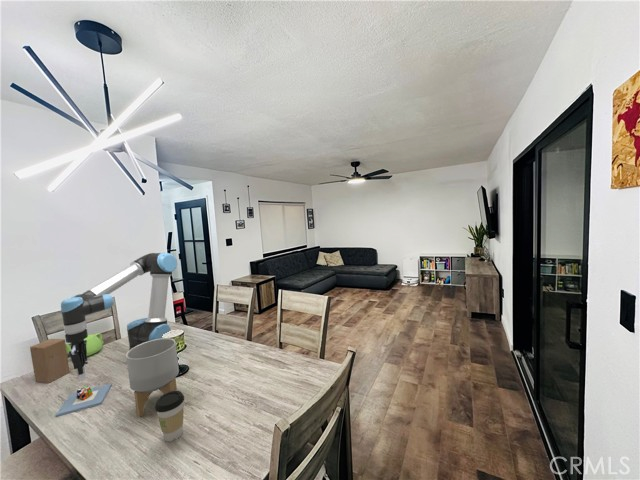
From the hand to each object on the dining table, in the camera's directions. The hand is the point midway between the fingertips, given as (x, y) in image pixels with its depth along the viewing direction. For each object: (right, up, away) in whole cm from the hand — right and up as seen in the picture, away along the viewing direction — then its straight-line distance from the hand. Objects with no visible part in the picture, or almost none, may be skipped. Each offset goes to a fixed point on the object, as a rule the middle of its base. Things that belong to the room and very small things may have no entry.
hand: (83, 379), depth 124 cm
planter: (+38, -9, -4) cm, 39 cm away
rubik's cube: (0, -9, +1) cm, 9 cm away
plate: (+1, -10, +1) cm, 10 cm away
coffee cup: (+56, -9, -23) cm, 61 cm away
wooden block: (-37, -11, +22) cm, 44 cm away
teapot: (-40, -9, +46) cm, 62 cm away
